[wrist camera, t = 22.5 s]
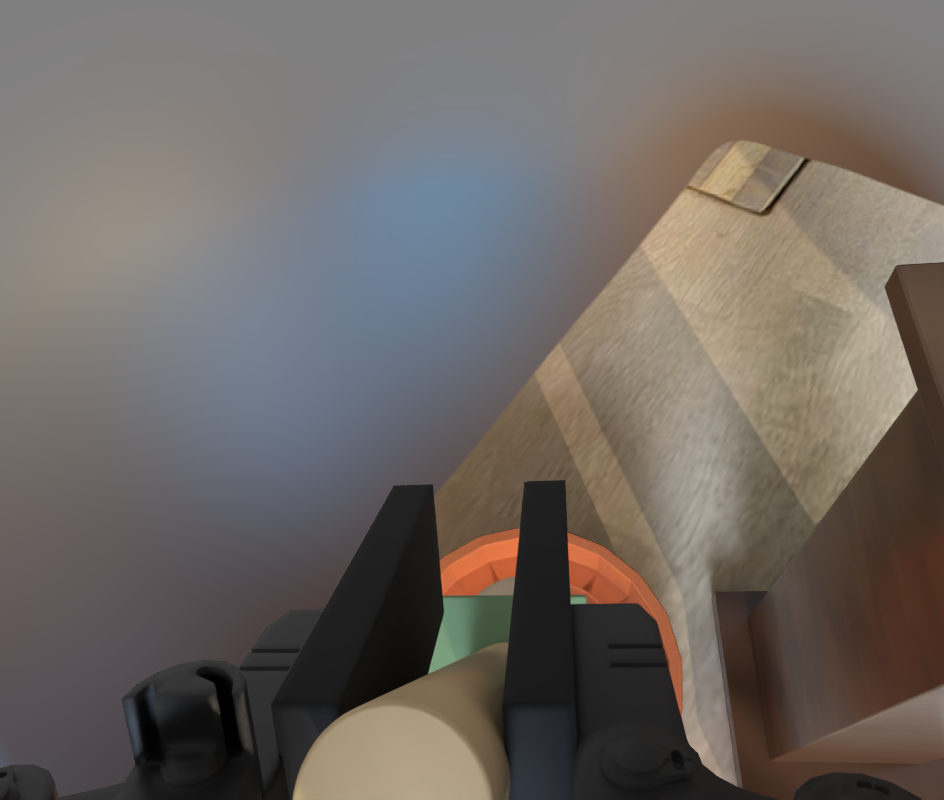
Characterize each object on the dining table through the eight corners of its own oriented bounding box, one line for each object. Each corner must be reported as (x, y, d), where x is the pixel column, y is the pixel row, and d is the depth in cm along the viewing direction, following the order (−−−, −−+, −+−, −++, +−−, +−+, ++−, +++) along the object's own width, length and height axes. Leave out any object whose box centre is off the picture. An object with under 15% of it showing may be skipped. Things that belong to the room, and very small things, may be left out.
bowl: (576, 521, 46) (575, 481, 41) (725, 743, 39) (747, 728, 34) (369, 641, 44) (341, 614, 38) (486, 899, 36) (471, 908, 31)
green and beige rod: (698, 1120, 6) (653, 481, 7) (99, 1074, 6) (162, 493, 7) (596, 713, 27) (590, 577, 28) (465, 711, 28) (465, 579, 29)
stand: (710, 588, 43) (874, 265, 19) (896, 586, 41) (1323, 238, 18) (746, 854, 36) (1070, 878, 12) (968, 861, 35) (1812, 903, 11)
